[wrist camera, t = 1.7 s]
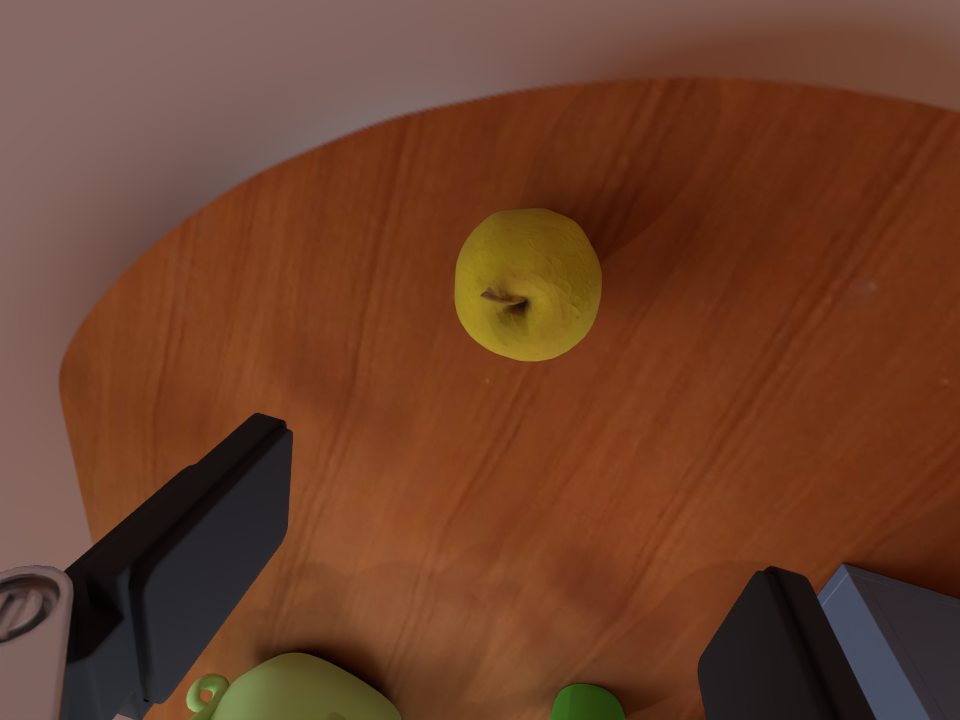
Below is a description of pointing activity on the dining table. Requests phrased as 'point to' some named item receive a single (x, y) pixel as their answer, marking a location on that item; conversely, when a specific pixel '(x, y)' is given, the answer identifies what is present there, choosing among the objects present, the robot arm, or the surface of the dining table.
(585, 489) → the dining table surface
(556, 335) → the apple
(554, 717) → the cup
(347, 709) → the teapot
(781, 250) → the dining table surface
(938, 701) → the chest
